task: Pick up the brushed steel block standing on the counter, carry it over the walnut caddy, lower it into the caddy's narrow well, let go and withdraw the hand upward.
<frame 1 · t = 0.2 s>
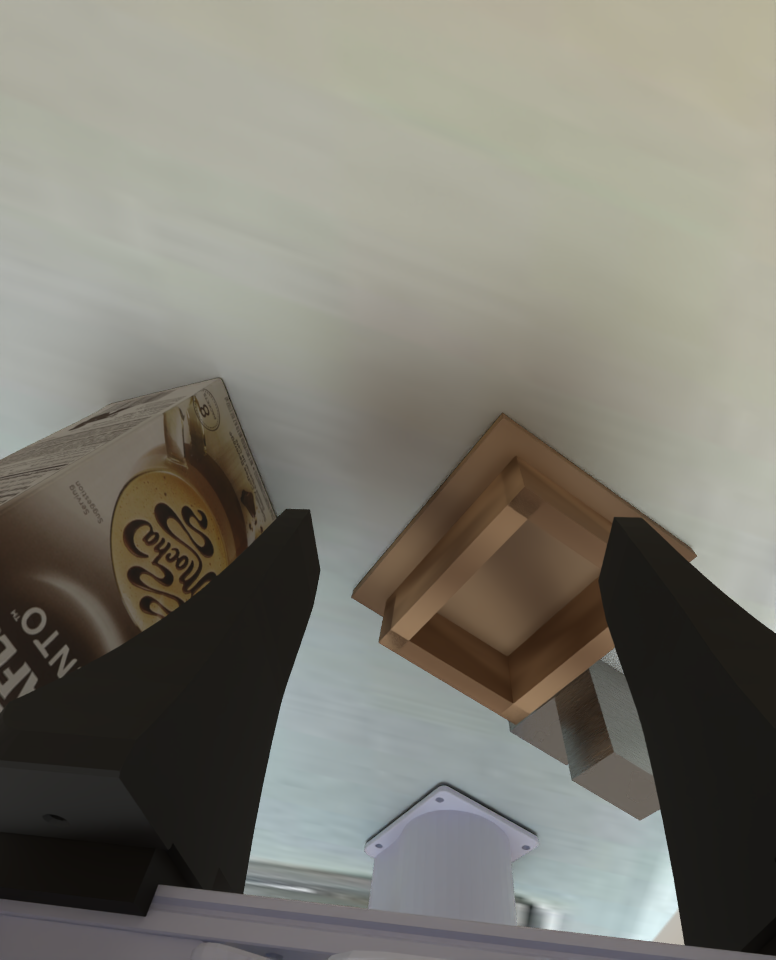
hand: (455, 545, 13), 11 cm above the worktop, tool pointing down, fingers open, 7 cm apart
well: (511, 570, 25), on the worktop
brushed steel block: (571, 697, 28), on the worktop
coffee box: (203, 475, 25), on the worktop
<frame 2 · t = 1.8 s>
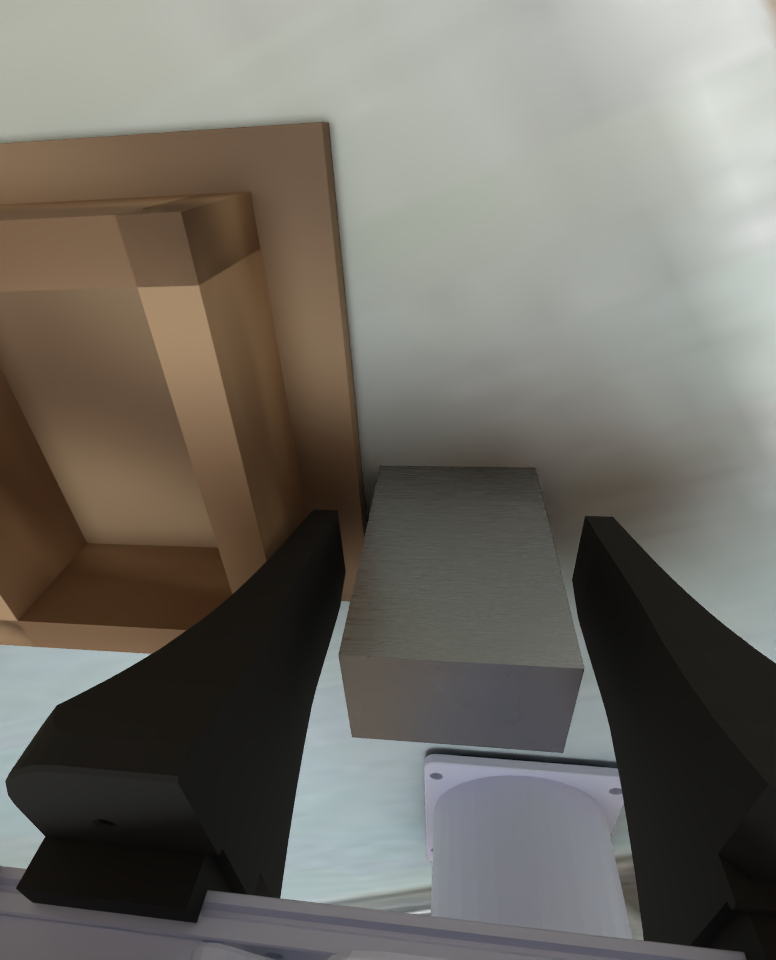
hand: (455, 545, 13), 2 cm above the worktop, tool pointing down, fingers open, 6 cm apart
well: (149, 415, 13), on the worktop
brushed steel block: (454, 553, 15), on the worktop
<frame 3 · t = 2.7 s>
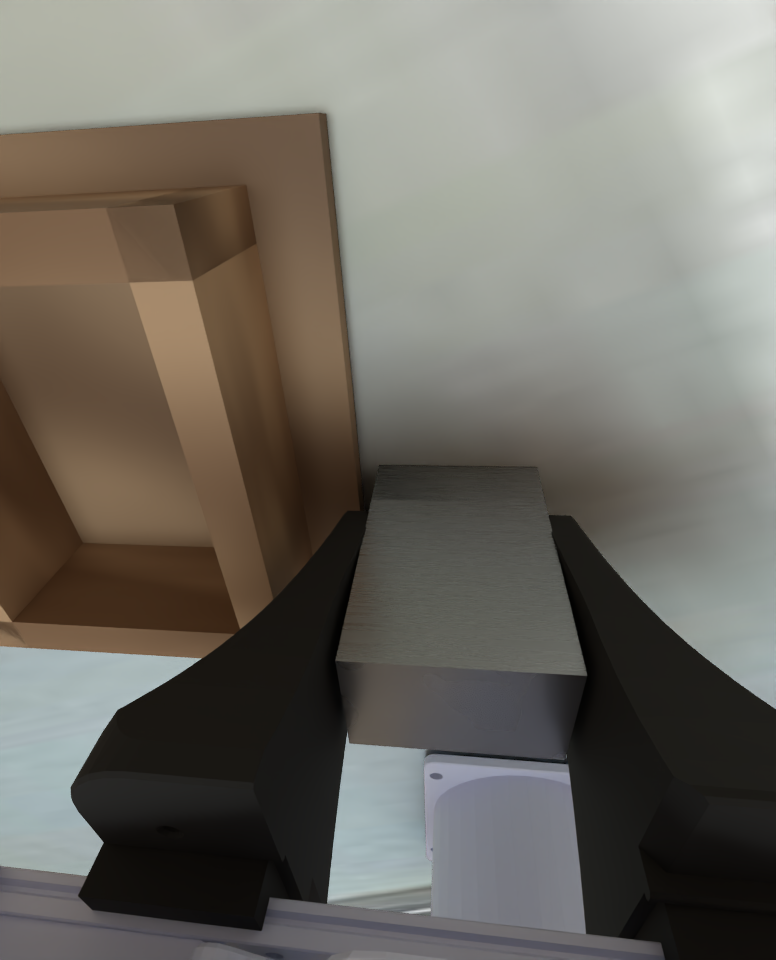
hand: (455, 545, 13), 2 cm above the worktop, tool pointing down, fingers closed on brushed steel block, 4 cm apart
well: (144, 413, 13), on the worktop
brushed steel block: (454, 554, 15), on the worktop, touching gripper
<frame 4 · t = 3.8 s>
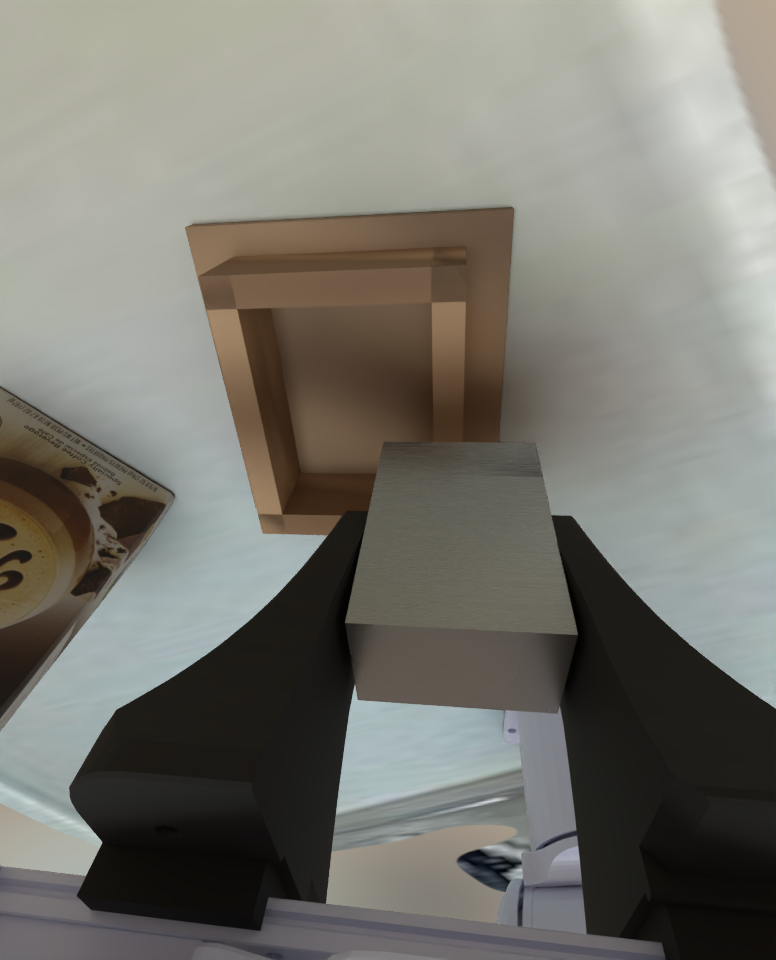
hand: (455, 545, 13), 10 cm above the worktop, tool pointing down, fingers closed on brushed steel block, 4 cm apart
well: (361, 382, 21), on the worktop
brushed steel block: (455, 526, 15), point 7 cm above the worktop, touching gripper
coffee box: (73, 478, 26), on the worktop
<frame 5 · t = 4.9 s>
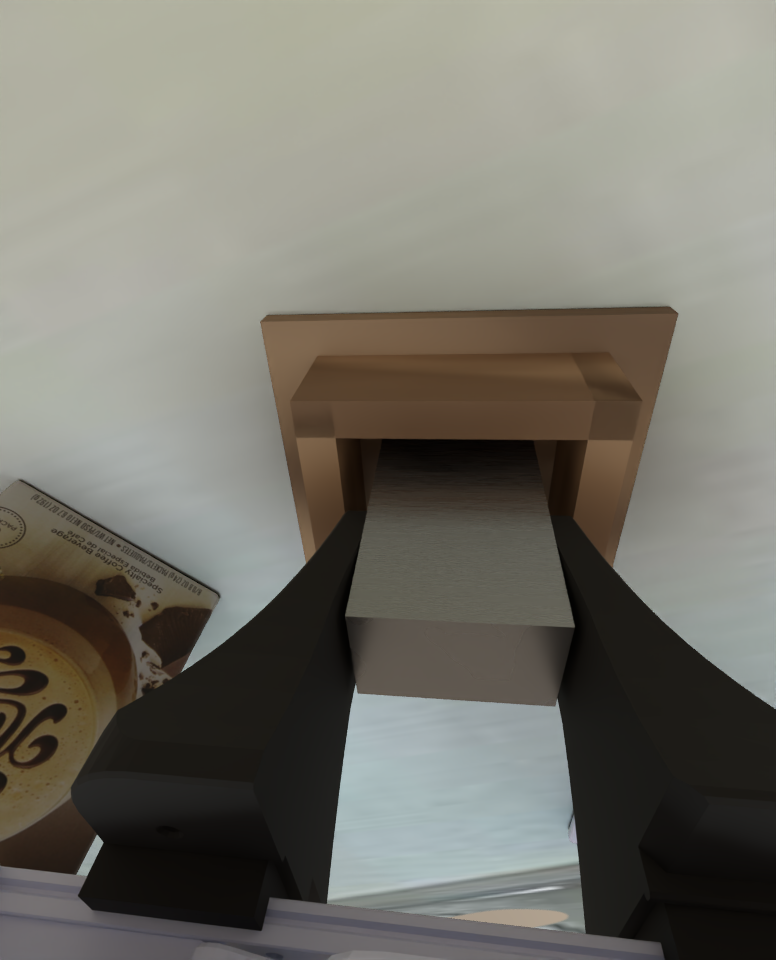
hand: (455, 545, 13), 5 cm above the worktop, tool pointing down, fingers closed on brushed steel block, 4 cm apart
well: (454, 489, 18), on the worktop
brushed steel block: (454, 523, 16), point 2 cm above the worktop, touching gripper
coffee box: (103, 574, 22), on the worktop
when the fingers open (4 cm above the worktop, at t = 5.5 s): brushed steel block stays where it is, resting on well.
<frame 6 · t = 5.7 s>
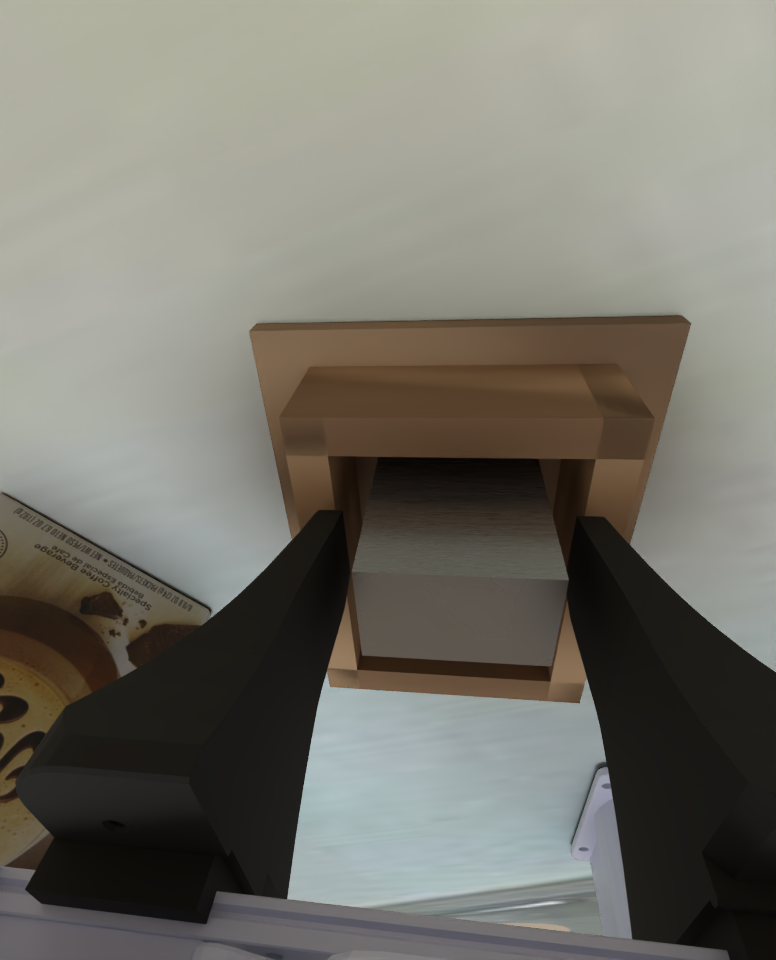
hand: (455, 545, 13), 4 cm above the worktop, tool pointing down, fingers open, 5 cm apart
well: (454, 504, 17), on the worktop
brushed steel block: (454, 508, 16), point 1 cm above the worktop, touching well
coffee box: (91, 588, 22), on the worktop
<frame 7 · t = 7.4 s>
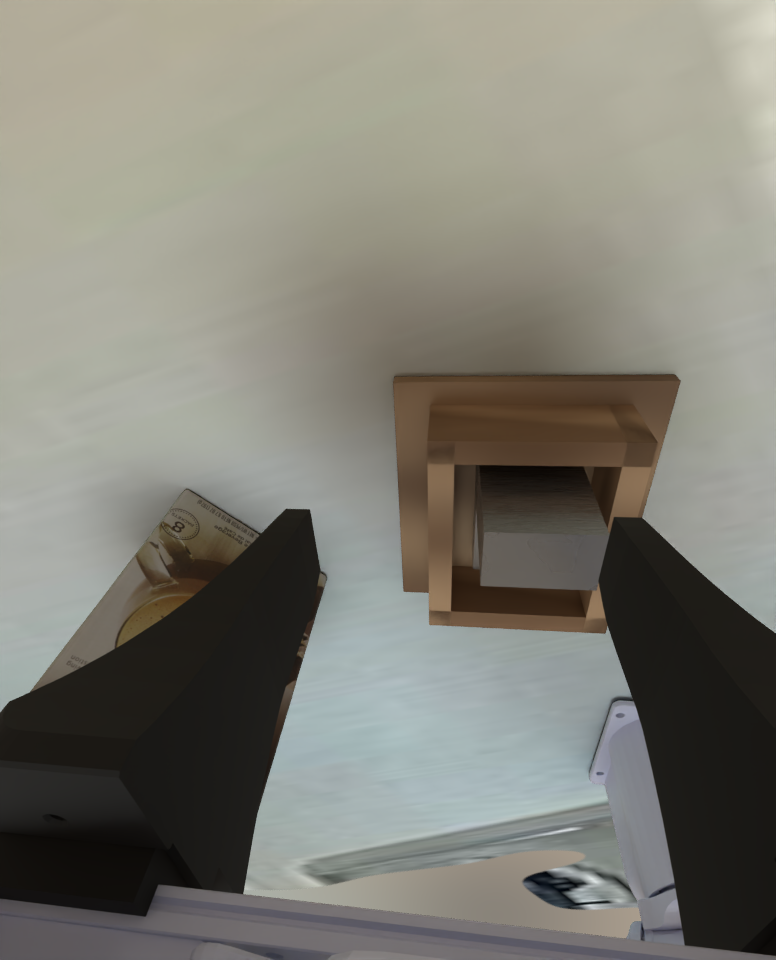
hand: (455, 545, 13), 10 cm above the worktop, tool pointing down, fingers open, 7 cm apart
well: (517, 496, 24), on the worktop
brushed steel block: (519, 499, 23), point 1 cm above the worktop, touching well
coffee box: (235, 560, 29), on the worktop
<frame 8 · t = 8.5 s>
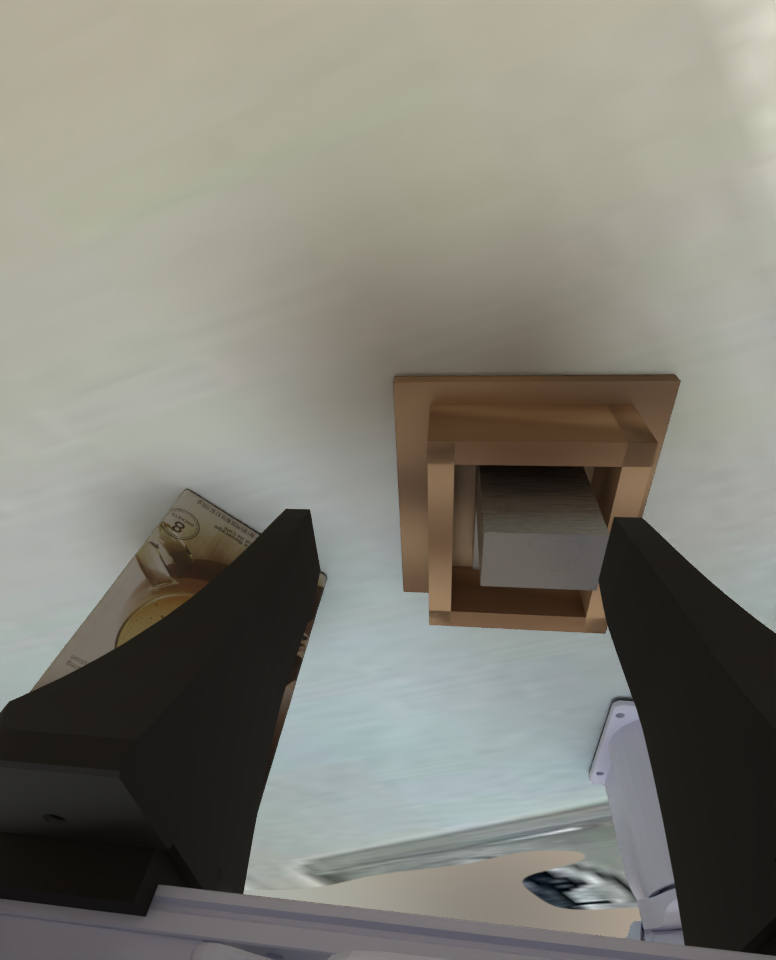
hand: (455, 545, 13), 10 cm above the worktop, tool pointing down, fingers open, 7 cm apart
well: (517, 496, 24), on the worktop
brushed steel block: (519, 499, 23), point 1 cm above the worktop, touching well
coffee box: (235, 560, 29), on the worktop
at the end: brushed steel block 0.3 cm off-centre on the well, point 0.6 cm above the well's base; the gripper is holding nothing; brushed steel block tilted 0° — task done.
